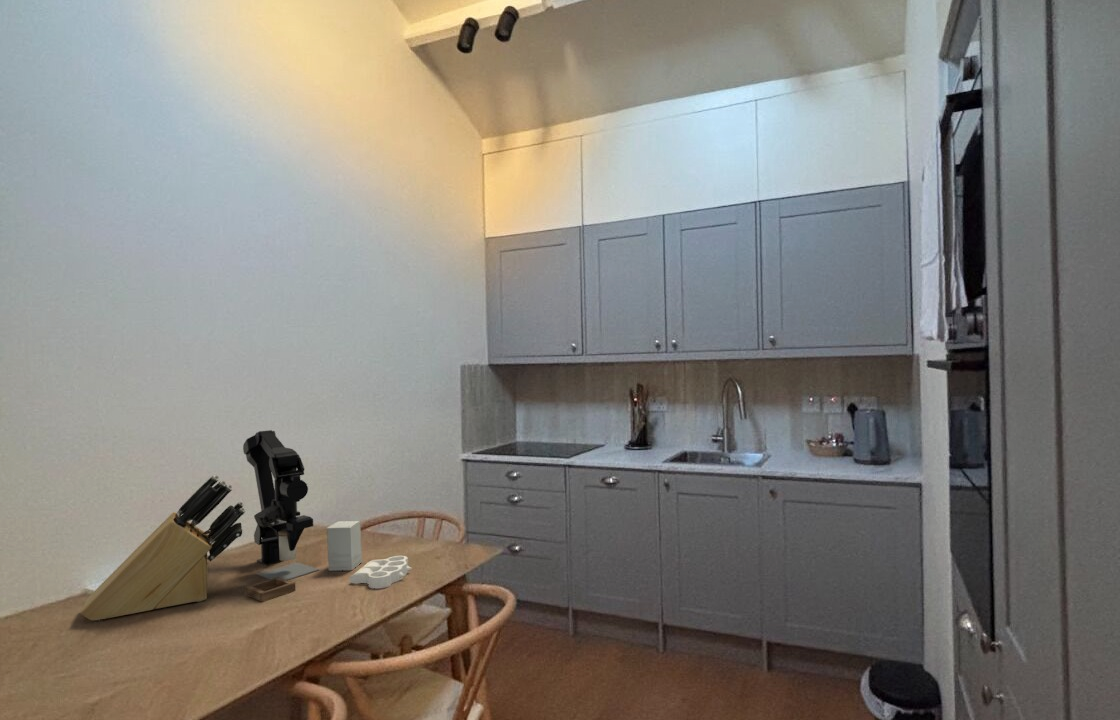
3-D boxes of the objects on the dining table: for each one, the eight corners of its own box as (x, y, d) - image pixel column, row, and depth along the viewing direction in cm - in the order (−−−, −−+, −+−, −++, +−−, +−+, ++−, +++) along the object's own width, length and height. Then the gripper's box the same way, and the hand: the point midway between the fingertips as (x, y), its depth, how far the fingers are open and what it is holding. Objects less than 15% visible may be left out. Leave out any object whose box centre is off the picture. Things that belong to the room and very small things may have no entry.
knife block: (248, 593, 161) (244, 476, 161) (80, 626, 143) (76, 494, 143) (246, 581, 170) (242, 470, 171) (88, 610, 153) (85, 486, 153)
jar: (275, 559, 176) (275, 531, 176) (291, 554, 179) (290, 527, 179) (284, 561, 173) (283, 533, 173) (299, 557, 177) (298, 529, 177)
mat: (257, 575, 175) (257, 574, 175) (296, 563, 185) (296, 562, 185) (279, 583, 168) (279, 581, 168) (319, 570, 177) (319, 569, 177)
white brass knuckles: (371, 567, 180) (419, 567, 178) (344, 590, 162) (397, 590, 161) (371, 555, 180) (419, 555, 178) (343, 577, 162) (396, 577, 161)
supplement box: (362, 562, 183) (361, 520, 183) (351, 571, 176) (350, 527, 176) (339, 562, 184) (337, 520, 184) (327, 571, 176) (325, 527, 176)
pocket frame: (245, 594, 160) (245, 587, 160) (278, 584, 167) (277, 576, 167) (262, 601, 155) (262, 593, 155) (295, 590, 162) (295, 583, 162)
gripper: (241, 497, 175) (243, 551, 175) (275, 504, 164) (277, 562, 164) (279, 490, 184) (280, 541, 184) (313, 496, 173) (315, 551, 173)
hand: (287, 549), depth 176 cm, fingers closed on jar, 4 cm apart
